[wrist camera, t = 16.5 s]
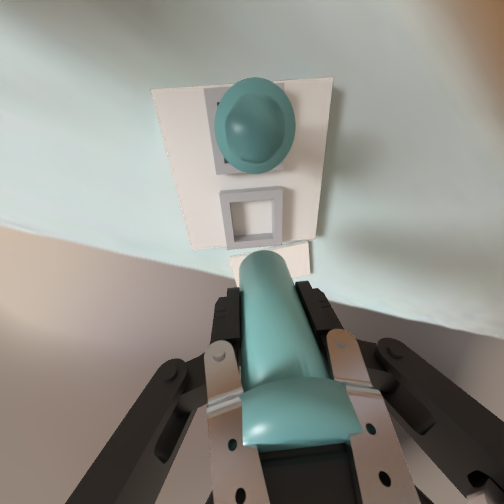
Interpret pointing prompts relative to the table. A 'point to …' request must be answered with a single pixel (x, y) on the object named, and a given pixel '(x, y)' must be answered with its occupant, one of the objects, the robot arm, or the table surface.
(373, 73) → the table surface
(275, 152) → the teal flared handle
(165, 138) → the housing
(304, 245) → the lid
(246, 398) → the teal round-knobbed peg
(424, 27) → the table surface
